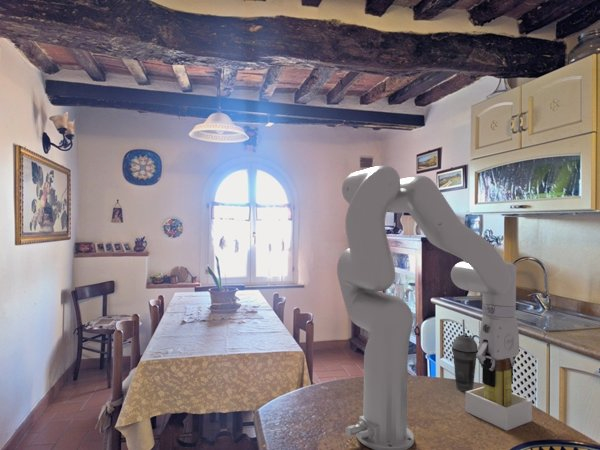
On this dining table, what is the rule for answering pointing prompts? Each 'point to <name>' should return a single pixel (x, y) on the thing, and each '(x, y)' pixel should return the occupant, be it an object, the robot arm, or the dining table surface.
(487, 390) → the sauce bottle
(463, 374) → the beverage cup
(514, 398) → the box
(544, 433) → the dining table surface
